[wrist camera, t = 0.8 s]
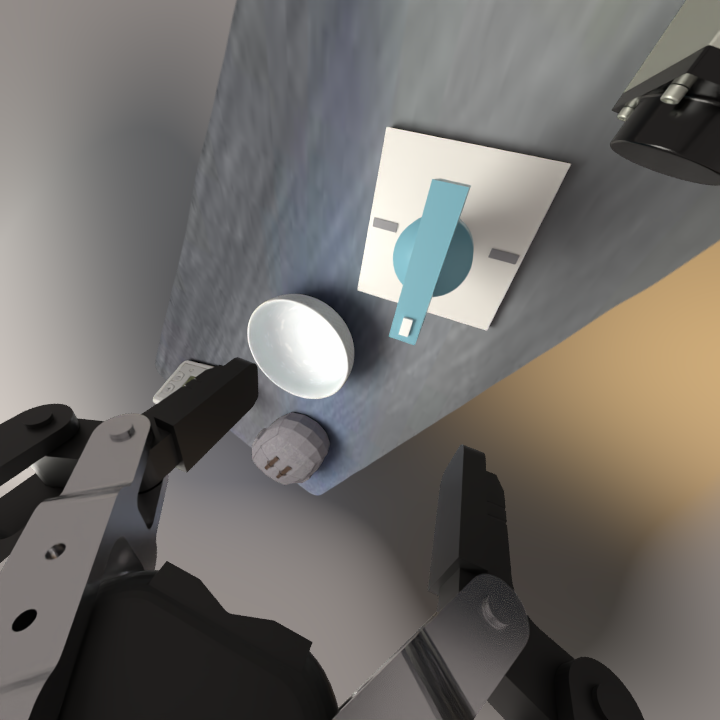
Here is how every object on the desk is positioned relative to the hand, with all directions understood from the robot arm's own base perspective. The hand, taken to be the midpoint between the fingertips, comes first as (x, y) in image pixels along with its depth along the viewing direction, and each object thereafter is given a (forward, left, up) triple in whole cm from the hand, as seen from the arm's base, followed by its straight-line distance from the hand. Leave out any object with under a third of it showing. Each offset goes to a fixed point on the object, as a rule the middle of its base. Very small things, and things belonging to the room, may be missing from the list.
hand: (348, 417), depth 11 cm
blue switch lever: (-1, 0, -23) cm, 23 cm away
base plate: (-1, 0, -31) cm, 31 cm away
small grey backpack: (+47, -17, -31) cm, 58 cm away
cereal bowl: (+18, -15, -31) cm, 39 cm away
